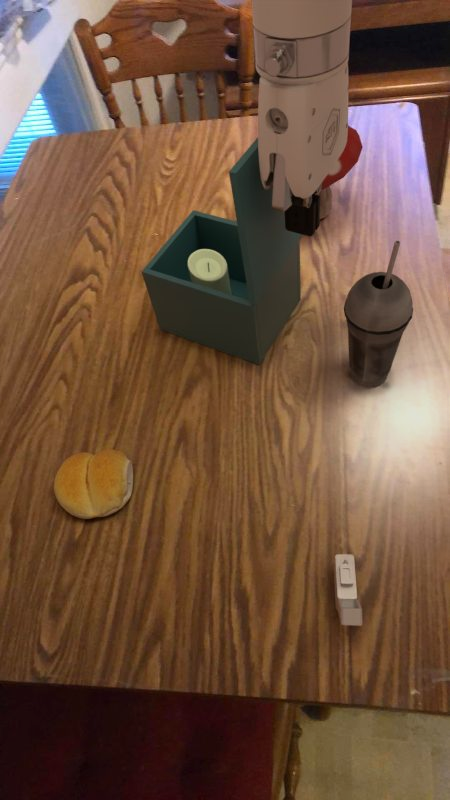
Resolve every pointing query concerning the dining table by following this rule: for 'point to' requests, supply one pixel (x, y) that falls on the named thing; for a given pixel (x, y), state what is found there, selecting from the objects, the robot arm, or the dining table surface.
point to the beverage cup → (376, 323)
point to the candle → (209, 270)
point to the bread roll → (94, 483)
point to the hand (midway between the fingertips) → (302, 228)
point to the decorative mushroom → (340, 170)
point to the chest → (213, 310)
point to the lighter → (346, 590)
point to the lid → (258, 225)
